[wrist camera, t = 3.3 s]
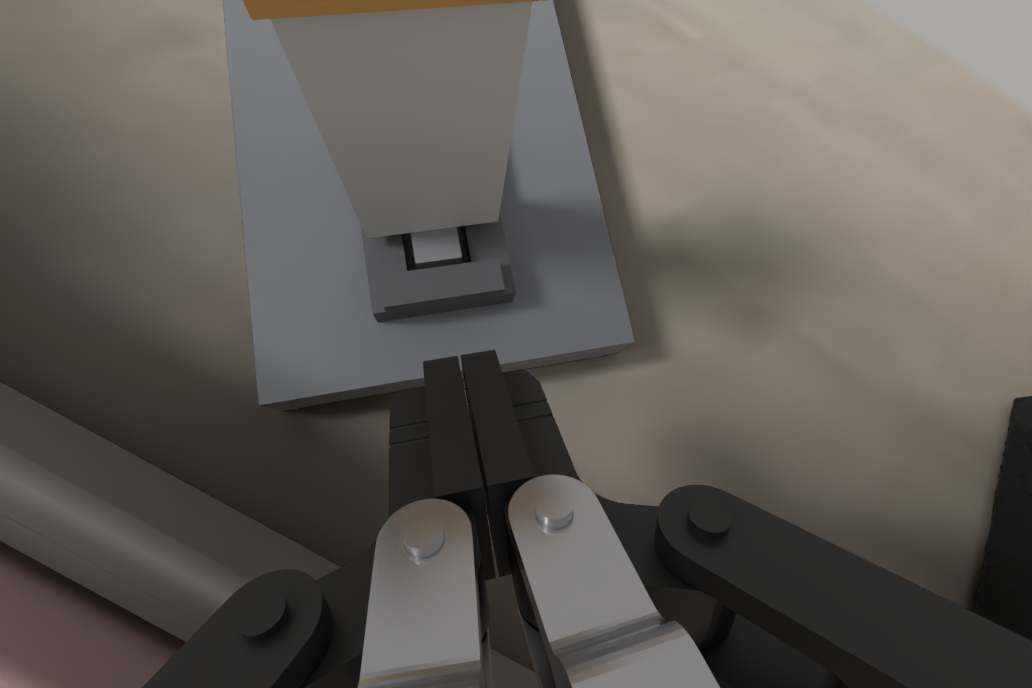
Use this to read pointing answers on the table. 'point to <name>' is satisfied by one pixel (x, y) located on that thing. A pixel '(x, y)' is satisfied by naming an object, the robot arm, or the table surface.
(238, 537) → the organizer tray
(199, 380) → the table surface
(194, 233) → the table surface
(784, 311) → the table surface
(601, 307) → the grey slider track base
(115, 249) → the table surface
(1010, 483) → the black drawer cabinet
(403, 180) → the fader tab
